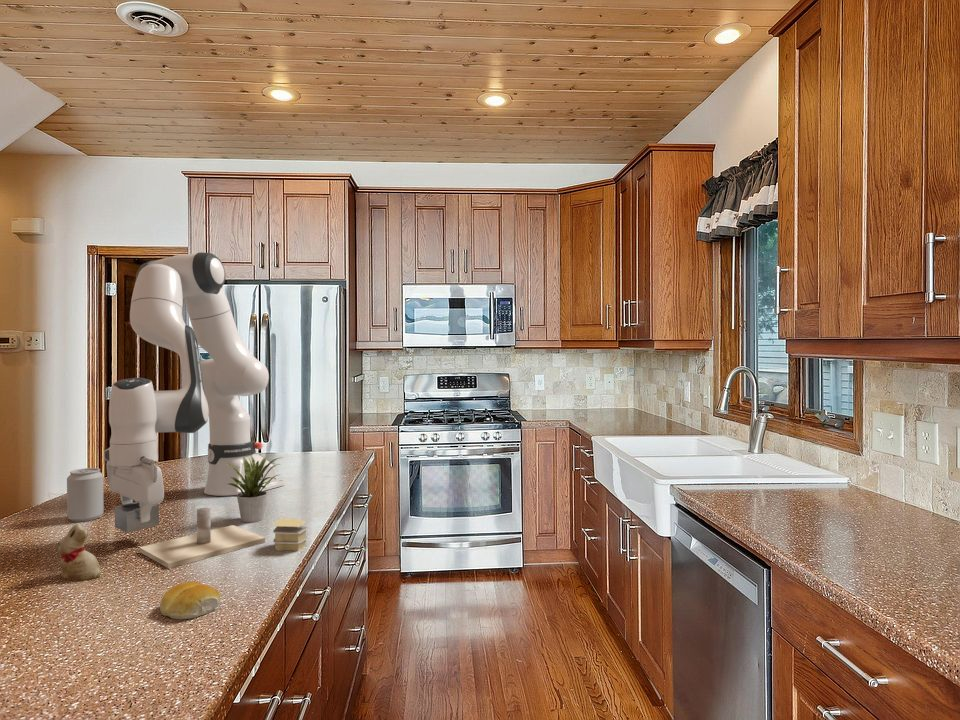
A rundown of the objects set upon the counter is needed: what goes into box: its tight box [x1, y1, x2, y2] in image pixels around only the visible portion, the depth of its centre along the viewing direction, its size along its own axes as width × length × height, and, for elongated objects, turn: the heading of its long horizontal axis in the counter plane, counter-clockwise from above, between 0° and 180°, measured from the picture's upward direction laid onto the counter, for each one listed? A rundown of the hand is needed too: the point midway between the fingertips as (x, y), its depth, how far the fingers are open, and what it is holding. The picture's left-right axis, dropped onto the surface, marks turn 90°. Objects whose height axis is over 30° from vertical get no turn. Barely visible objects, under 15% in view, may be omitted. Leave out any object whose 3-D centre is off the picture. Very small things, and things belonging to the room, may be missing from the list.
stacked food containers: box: [272, 517, 309, 552], centre depth 125 cm, size 10×9×6 cm
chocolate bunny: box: [57, 522, 102, 582], centre depth 109 cm, size 6×8×10 cm
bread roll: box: [159, 581, 222, 620], centre depth 96 cm, size 8×9×4 cm
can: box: [66, 467, 105, 523], centre depth 145 cm, size 8×8×12 cm
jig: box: [139, 507, 266, 569], centre depth 125 cm, size 20×14×8 cm
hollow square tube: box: [113, 501, 160, 534], centre depth 127 cm, size 6×6×4 cm
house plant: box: [222, 453, 284, 523], centre depth 145 cm, size 14×14×16 cm
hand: (136, 517), depth 127 cm, fingers closed on hollow square tube, 6 cm apart
